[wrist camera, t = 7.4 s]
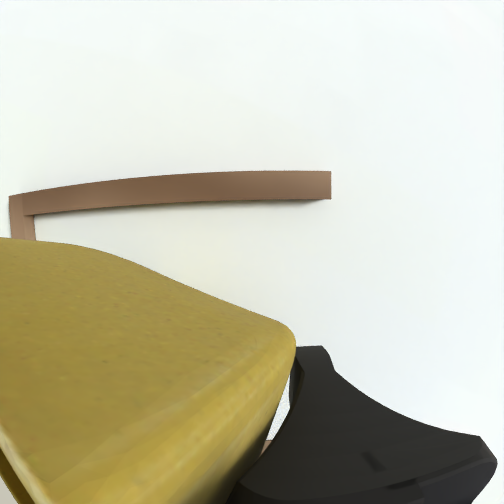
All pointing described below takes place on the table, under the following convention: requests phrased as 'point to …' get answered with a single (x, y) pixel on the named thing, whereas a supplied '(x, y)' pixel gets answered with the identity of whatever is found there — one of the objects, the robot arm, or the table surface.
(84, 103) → the table surface
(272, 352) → the flower pot
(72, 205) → the brown wooden open-sided frame
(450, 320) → the table surface
